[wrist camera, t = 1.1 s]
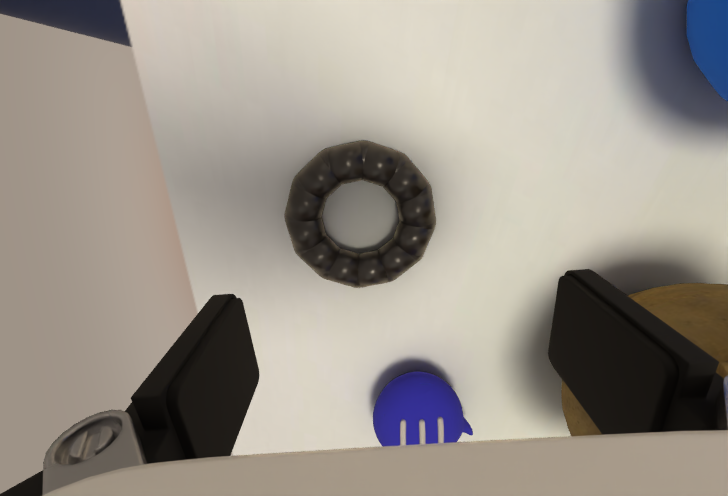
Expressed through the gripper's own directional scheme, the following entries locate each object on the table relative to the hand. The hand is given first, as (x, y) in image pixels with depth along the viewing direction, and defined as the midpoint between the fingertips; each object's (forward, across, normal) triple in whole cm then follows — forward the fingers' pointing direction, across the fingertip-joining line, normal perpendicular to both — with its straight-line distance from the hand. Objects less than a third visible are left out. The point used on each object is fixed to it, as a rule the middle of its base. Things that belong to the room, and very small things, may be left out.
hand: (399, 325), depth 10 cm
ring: (+18, +2, +2) cm, 18 cm away
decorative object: (+19, -3, +22) cm, 30 cm away
